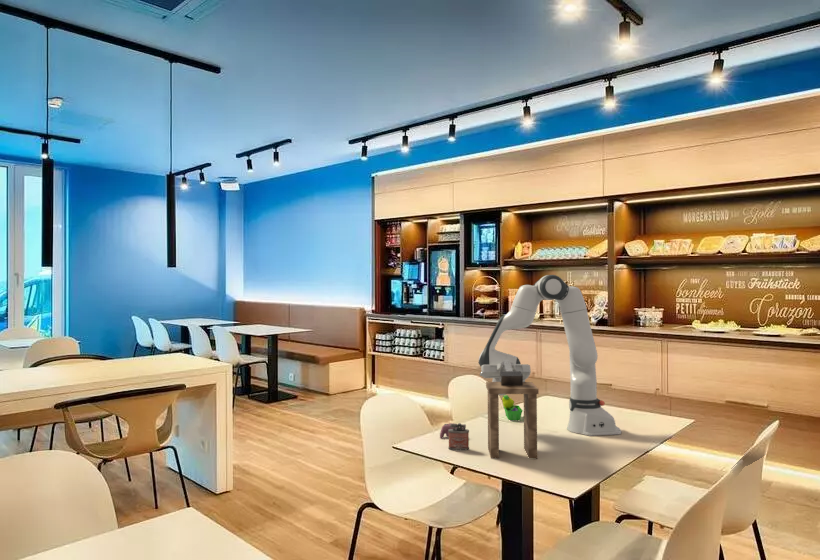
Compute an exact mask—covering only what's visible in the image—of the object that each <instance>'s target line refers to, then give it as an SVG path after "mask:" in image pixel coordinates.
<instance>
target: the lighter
mask: <svg viewBox="0 0 820 560" xmlns="http://www.w3.org/2000/svg"><path fill="white" fill-rule="evenodd" d="M450 427H454V428H453V429H449V430H448V432H449V437H448V450H449V451H469V450H470V447H469V446H470V445H469V443H470V442H469V441H470V440H469V438H470V437H469V433H470V430H469V429H468V428H467V425H466V424H463V423H461V422H459V423H455V424H450ZM455 427H457V429H455Z"/></svg>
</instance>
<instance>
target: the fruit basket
mask: <svg viewBox="0 0 820 560" xmlns="http://www.w3.org/2000/svg"><path fill="white" fill-rule="evenodd" d="M501 400H502V406H503V409H504V412H505V416H507V417H506V418H507V419H508V421H509V420H517V421H518V420H520V421H521V418H522V413H523V412H524V409H522V408H521V407H520V405H518V404H517V405H516V404H515V401H514V399H512V397H510V396H509V395H508V394H506V395H502V399H501Z"/></svg>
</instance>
